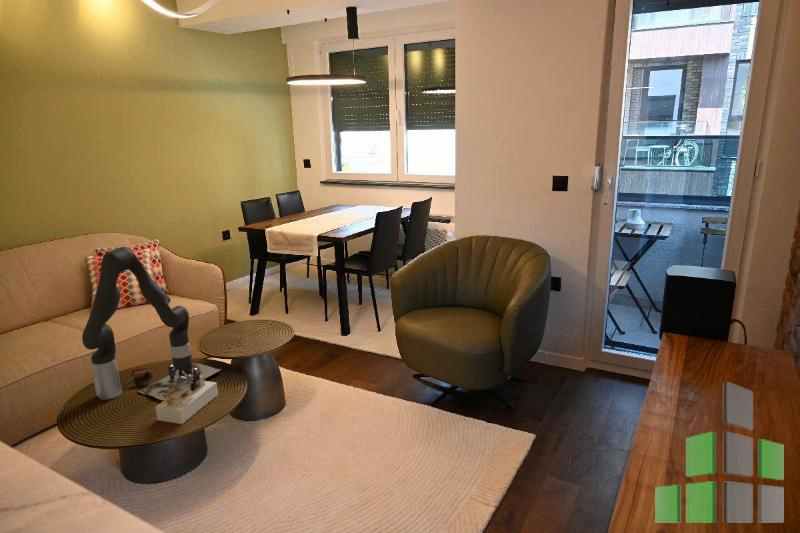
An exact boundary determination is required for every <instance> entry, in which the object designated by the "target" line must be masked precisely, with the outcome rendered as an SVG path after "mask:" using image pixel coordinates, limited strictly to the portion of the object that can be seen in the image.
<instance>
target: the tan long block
mask: <svg viewBox="0 0 800 533" xmlns="http://www.w3.org/2000/svg"><path fill="white" fill-rule="evenodd" d="M205 381H206V378H205V379H204V376H203V375H200V380H199V381H197V382H196V386H197V388H196V390H194V391H191V385H190V386H189V387H187V388H186V389H185V390H183V391H182V390H175V389H173V388H172V389H173V390H172V391H170V392H169V393H167V394H166V395H165V399H167V404H168V405H174V406H178V405H179V404H181V403H182V402H183V401H185V400H186V399H187V398H189V397H190V396H191V395H193V394H194V393H195V392H197V391H198V390H199V389H201V388H202V387H203V386H205Z"/></svg>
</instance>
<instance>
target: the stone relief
mask: <svg viewBox="0 0 800 533" xmlns="http://www.w3.org/2000/svg"><path fill="white" fill-rule="evenodd" d="M192 367H193V368H197V367H198V368H199V373H200V375H203V376H204V379H205V380H206V379H207V378H209V377H211V376H212V375H215V374H216V373H218V372H219V371H221V370H222V368H221V369H219V368H216V367H212V366H209V365H206V364H202V363H198V362H192ZM173 382H174V380H173V379H172V380H171V379H170V375H167V376H165V377H163V378H161V379H160V380H157V381H155V382H152V383H151V384H149V385H148V386H145V387H144V388H142V389H140V390H137V392H138V393H140V394H142V395H145V396H146V395H147V396H150V397H153V398H155V399H158V400H159V401H164V400H166V398H165V396H166V394H167V393H169V392H170V391H172V390H173V389H174V386H173ZM157 387H158V388H157ZM171 387H172V388H171ZM148 388H149V389H151V390H150V391H149V392H148V394H145V392H147V390H149V389H148Z"/></svg>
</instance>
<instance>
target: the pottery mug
mask: <svg viewBox="0 0 800 533" xmlns="http://www.w3.org/2000/svg"><path fill="white" fill-rule="evenodd" d="M129 376H130V377H132V378H133V381H131V386H132V387H134V388H135V387H142V386H146V385H145V384H146V383H149V382H150V381H151V380H152V379H153V376H154V373H153V372H152V371H151V369H150V368H149V367H140V368H139V367H138V368H134V369H132V370H131V374H130V375H129Z"/></svg>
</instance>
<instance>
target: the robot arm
mask: <svg viewBox="0 0 800 533" xmlns="http://www.w3.org/2000/svg"><path fill="white" fill-rule="evenodd" d="M127 270H128V271H129V272H131V273H132V274H133V275H134V277H135V279H136V280H137V282H138V287H139V290H140V293H141V294H142V296H143V298H144V299H145V300H146V301H147V303H149V304H150V305H151V307H153V308H154V310H155V311H156V313H157V315H158V317H159V318H160V321H161V322H162V323H163V324H164V325H165V326H166V327H169V328H172V329H171V330H170V332H169V335H168V336H169V343H170V344H169V345H170V354H171V360H172V364H170V365H168V366H167V371H168V374H169V375H170V379H171V380H172V379H173V380H174V381H176V380H177V379H179V378H180V377H181V376H184V377H186V378H187V379H188V380H189V381H190V385H191V391H194V390H196V388H197V386H196V382H197V381H199V380H200V373H199V368H198V367H197V368H193V367H192V363H193V357H192V350H191V344H190V341H189V334H188V332H189V330H188V329H189V323H190V316H189V311H188V310H187V308H186V307H185V306H183V305H177V306H174V307H173V308H171V307H170V305H169V304H170V303H171V297H170V296H169V295H168V294H167V293H166V291H164V290H163V289H162V288H161V287H160V286H159V284H157V283H156V281H155V280H154V279H153V277H152V276H151V275H150V273H149V272H148V270H147V269H146V267H145V266H144V264H143V263H142V261H140V259H139V258H138V256H137V255H136V253H134V251H133V250H132V249H130V248H128V247H126V246H120V247H118V248H115V249H112V250H109V251H108V252H106V253H105V254H104V255H103V256H102V259H101V264H100V272H99V279H98V283H97V288H96V292H95V294H94V298H93V303H92V308H91V311H90V314H89V317H88V320H87V322H86V324H85V326H84V329H83V331H82V335H81V340H82V345H83V346H84V347H85V349H87V350H96V349H97V350H96V351H95V352H93V354H92V355H91V357H90V360H91V365H92V371H93V375H94V377H93V383H94V388H95V394H96V398H97V397H98V399H100V400H102V401H103V400H105V401H106V400H112V399H115V398H118V397H119V396H120V395H121V394H122V393H123V390H122V385H121V384H122V383H121V379H120V374H119V369H118V362H117V360H116V352H117V349H116V348H117V347H116V341H115V334H114V330H113V329H112V327H111V326H110V325H109V324H107V322H108V321H109V320H110V319H111V318H112V317H113V316H114V315H115V313H116V311H117V310H118V307H119V305H120V301H121V298H122V296H121V291H120V290H119V288H118V286H117V283H118V279H119V276H120V275H121V274H122V273H123V272H125V271H127ZM190 374H191V376H189V375H190ZM169 375H168V376H169ZM191 377H192V379H193V380H192V379H191Z"/></svg>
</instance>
